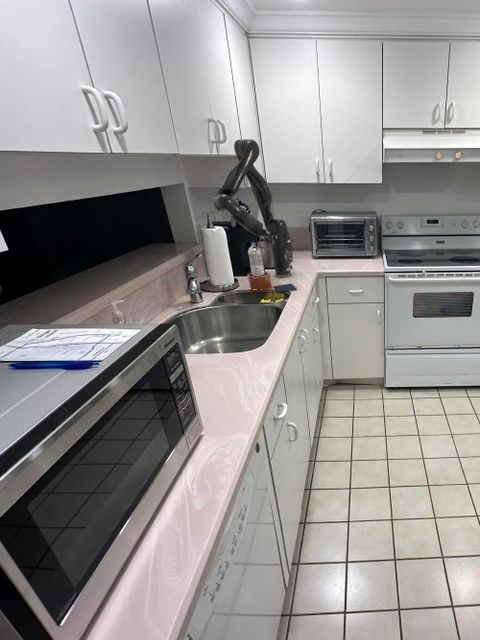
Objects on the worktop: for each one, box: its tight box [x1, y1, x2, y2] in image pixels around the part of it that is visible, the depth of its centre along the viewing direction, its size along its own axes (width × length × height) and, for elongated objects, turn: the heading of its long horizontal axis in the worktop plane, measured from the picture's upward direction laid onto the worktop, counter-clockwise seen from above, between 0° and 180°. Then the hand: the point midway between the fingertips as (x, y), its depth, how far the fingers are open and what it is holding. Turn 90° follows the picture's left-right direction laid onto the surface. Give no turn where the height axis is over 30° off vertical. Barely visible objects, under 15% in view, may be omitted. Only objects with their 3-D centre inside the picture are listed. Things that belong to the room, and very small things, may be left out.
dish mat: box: [273, 283, 298, 294], centre depth 213 cm, size 11×10×1 cm
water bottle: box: [247, 241, 266, 277], centre depth 208 cm, size 7×7×25 cm
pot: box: [246, 271, 273, 293], centre depth 212 cm, size 11×11×8 cm
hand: (275, 243), depth 208 cm, fingers open, 8 cm apart
